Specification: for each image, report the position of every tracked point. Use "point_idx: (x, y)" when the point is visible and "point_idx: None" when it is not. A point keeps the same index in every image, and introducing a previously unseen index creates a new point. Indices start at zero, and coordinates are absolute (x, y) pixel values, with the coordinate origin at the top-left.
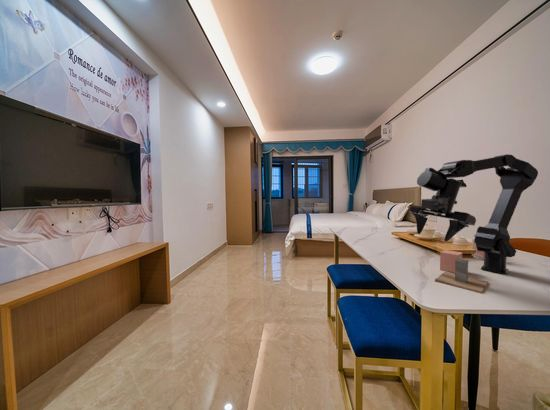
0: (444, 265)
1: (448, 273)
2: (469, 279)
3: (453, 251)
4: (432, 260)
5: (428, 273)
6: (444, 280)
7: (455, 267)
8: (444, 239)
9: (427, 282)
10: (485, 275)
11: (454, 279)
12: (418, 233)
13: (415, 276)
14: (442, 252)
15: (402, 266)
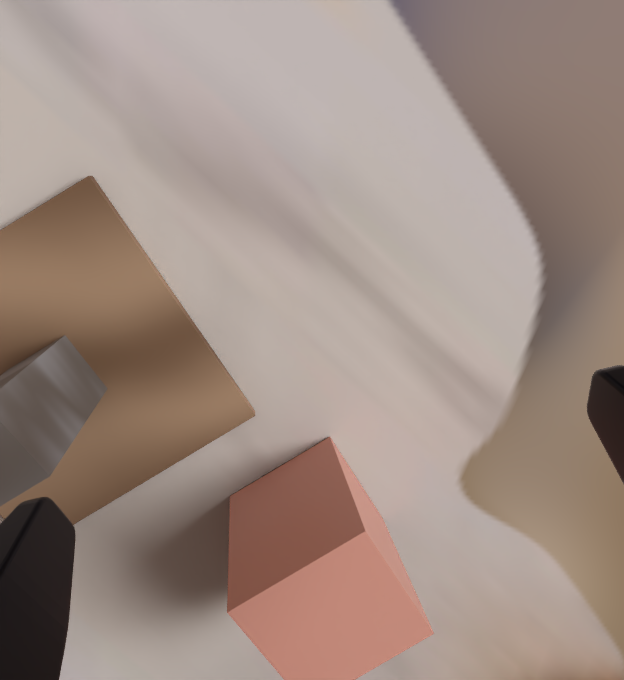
0: (311, 475)
1: (215, 412)
2: (75, 456)
3: (361, 665)
4: (527, 548)
5: (268, 275)
6: (62, 243)
7: (18, 373)
8: (35, 512)
9: (64, 80)
10: (179, 639)
11: (80, 345)
12: (596, 377)
13: (214, 90)
14: (348, 540)
15: (469, 181)
